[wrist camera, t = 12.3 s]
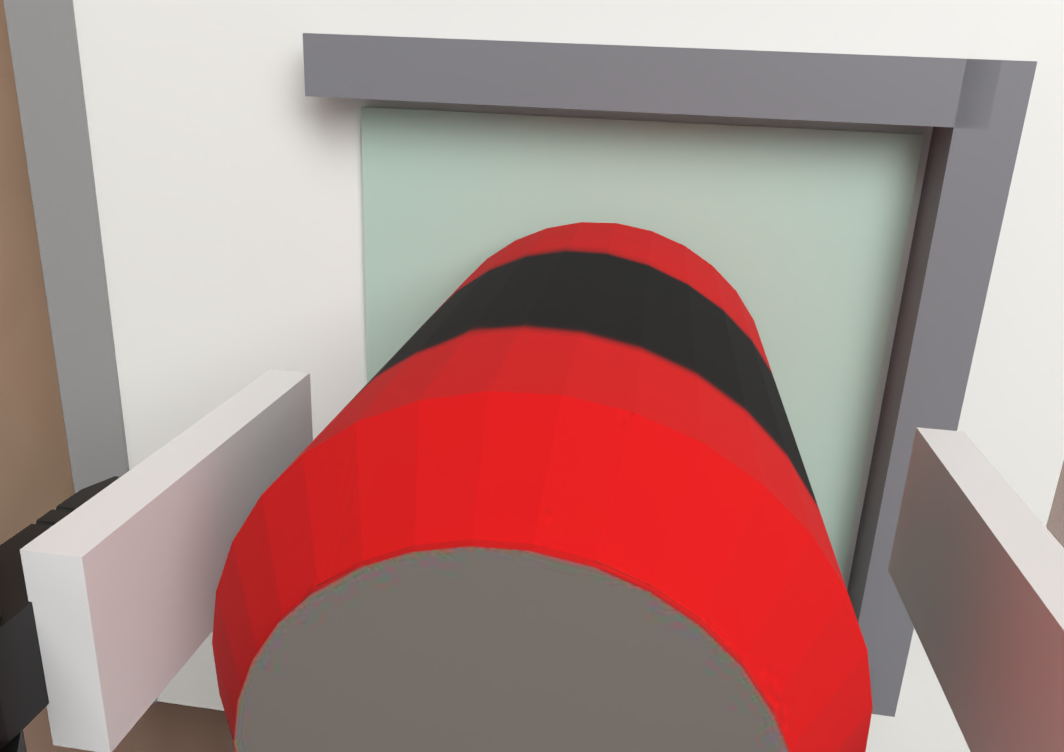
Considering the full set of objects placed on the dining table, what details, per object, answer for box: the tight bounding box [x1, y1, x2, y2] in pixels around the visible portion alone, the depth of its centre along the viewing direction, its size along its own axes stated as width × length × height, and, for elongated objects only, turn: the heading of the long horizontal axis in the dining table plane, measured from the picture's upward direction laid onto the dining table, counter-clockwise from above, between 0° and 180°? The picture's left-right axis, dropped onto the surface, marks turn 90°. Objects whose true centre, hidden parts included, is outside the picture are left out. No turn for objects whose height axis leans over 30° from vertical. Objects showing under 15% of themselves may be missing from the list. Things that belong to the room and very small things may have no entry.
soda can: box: [212, 222, 873, 752], centre depth 14 cm, size 8×8×12 cm
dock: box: [4, 0, 1064, 752], centre depth 21 cm, size 24×22×4 cm
